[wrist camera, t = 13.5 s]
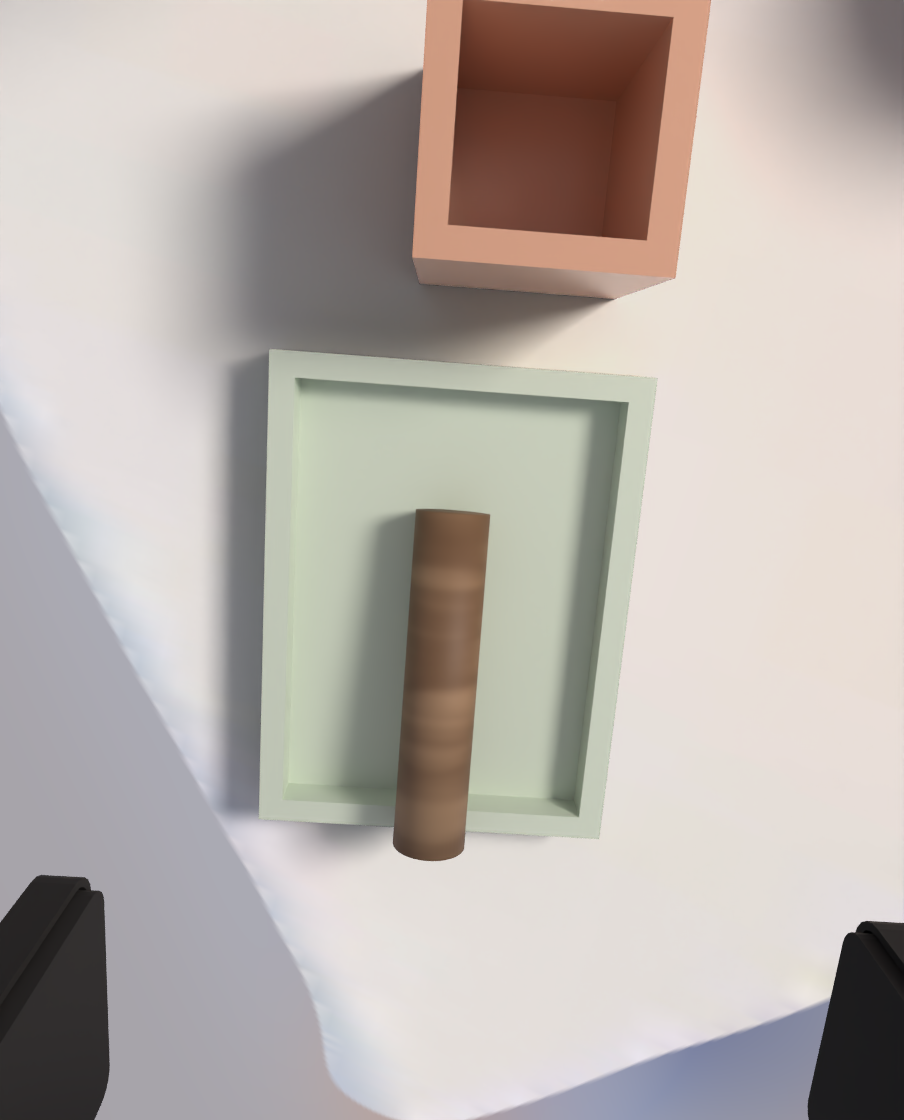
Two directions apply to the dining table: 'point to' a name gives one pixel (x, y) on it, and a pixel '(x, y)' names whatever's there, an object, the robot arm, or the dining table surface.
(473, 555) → the dowel
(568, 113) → the pink square bin
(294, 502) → the tray
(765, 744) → the dining table surface
